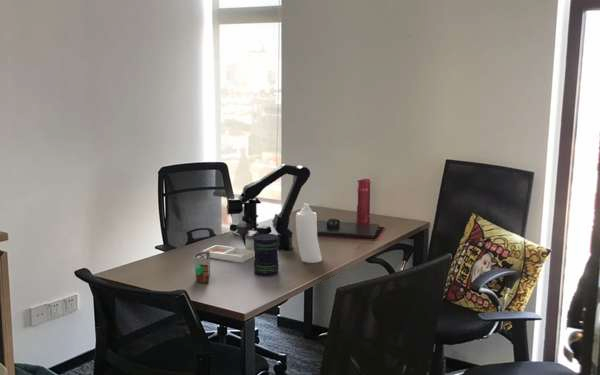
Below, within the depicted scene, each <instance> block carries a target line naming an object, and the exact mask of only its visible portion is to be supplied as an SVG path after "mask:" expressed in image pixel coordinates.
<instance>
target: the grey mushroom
mask: <svg viewBox="0 0 600 375" xmlns="http://www.w3.org/2000/svg"><path fill="white" fill-rule="evenodd" d="M253 234H254V233H250V234H246V235H245V245H244V247H245V248H244V249H248V250H254V236H253Z"/></svg>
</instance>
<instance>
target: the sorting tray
mask: <svg viewBox="0 0 600 375" xmlns="http://www.w3.org/2000/svg"><path fill="white" fill-rule="evenodd" d="M203 251H210V259H216V260H224V261H231V262H236V263H241V264H243V263H244V262H247V261H248V260H250V259H252V258H255V251H254V250H248V249H246V248H240V247H234V246H228V245H227V246H226V245H218V244H215V245H213V246H210V247H208V248H205V249H203V250H201V252H203Z"/></svg>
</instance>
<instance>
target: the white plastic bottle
mask: <svg viewBox="0 0 600 375" xmlns="http://www.w3.org/2000/svg"><path fill="white" fill-rule="evenodd" d="M317 217H318V216H317V212H315V211H313V210H312V208H311V207H310V203H307V202H304V203H303V206H302V208H301V209H300V210H299V211H298V212H296V213H295V230H296V240H297V246H298V252H299V256H300V259H301V261H302V262H304V263H309V264H310V263H311V264H314V263H320V262H322V261H323V257H322V253H321V249H320V245H319V244H320V243H319V239H318V223H317V222H318V221H317V219H318V218H317Z"/></svg>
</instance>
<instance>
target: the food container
mask: <svg viewBox="0 0 600 375" xmlns="http://www.w3.org/2000/svg"><path fill="white" fill-rule="evenodd" d="M202 251H203V250H202ZM202 251H199V252H196V253H194V255H193V257H192V263H194V270H195V280H196V283H198V284H202V285H203V284H204V285H209V283H210V279H211V262H210V261H211V258H210V251H203V252H202Z"/></svg>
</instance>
